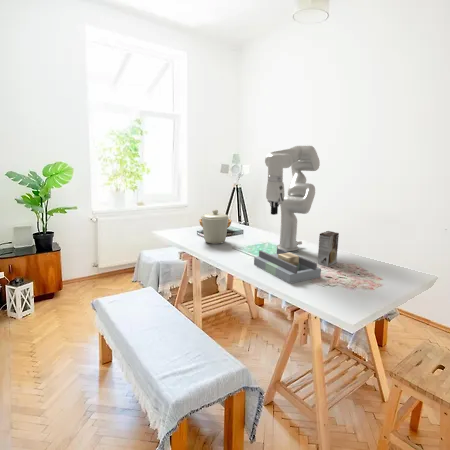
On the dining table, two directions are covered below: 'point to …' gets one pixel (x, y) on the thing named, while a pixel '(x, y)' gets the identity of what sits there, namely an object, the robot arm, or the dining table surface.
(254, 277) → the dining table surface
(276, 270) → the lane deck
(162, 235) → the dining table surface
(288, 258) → the maple block
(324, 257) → the coffee box
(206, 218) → the canister
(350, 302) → the dining table surface
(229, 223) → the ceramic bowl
